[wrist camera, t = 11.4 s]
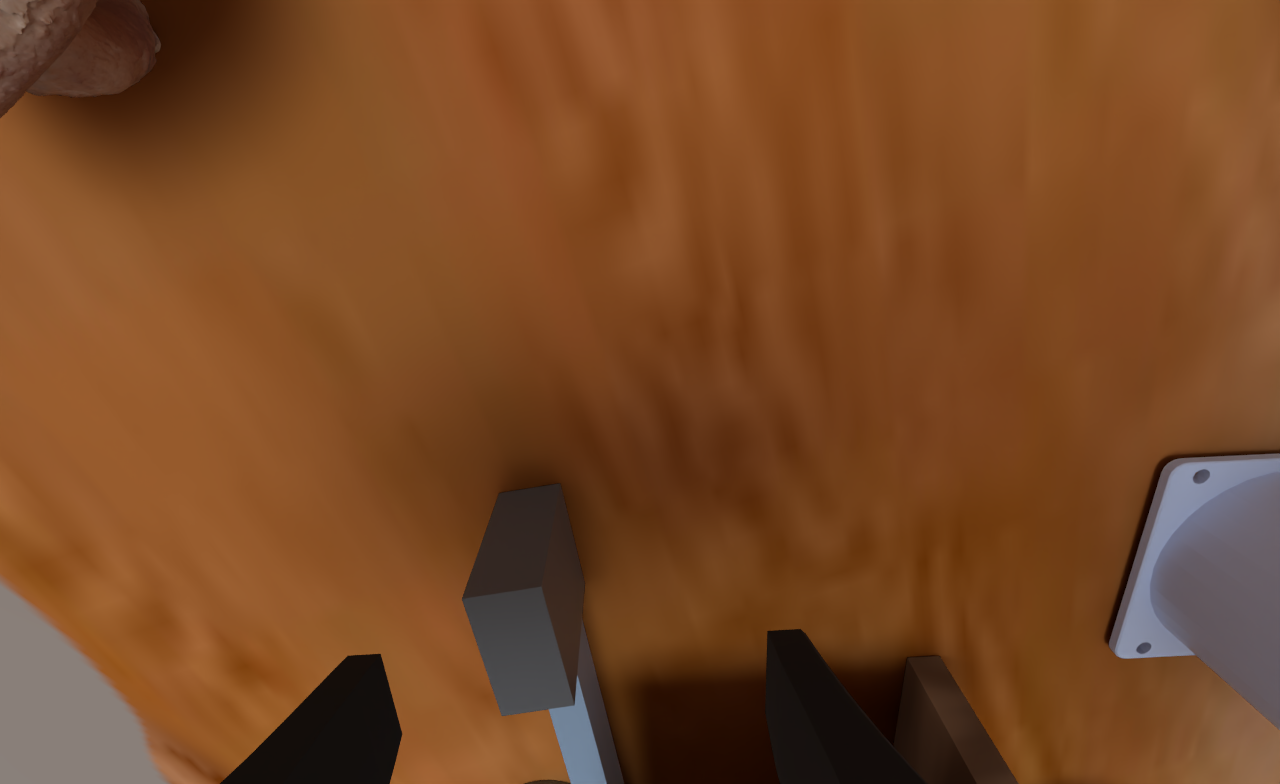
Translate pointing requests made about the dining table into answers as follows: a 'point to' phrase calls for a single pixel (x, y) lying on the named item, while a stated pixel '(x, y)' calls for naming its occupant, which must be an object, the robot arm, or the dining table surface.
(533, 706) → the scraper
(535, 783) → the token
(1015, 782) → the shelf
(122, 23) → the mushroom
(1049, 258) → the dining table surface
